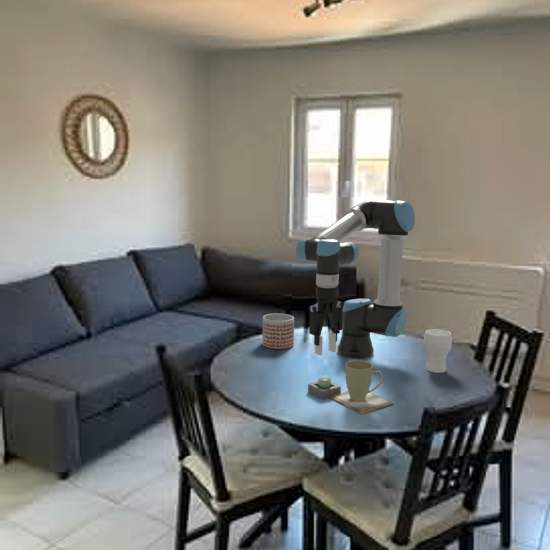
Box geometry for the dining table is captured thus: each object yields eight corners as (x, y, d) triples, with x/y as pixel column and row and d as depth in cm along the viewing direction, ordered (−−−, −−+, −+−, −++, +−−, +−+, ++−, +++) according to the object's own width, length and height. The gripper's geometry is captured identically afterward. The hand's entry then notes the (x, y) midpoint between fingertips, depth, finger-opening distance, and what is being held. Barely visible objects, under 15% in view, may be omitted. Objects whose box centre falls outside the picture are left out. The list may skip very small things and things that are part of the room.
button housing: (307, 392, 198) (308, 383, 197) (325, 387, 202) (326, 379, 202) (322, 399, 191) (322, 391, 191) (340, 394, 196) (340, 386, 195)
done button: (315, 386, 197) (315, 378, 196) (325, 384, 199) (325, 376, 199) (323, 390, 193) (323, 382, 193) (333, 388, 196) (333, 380, 195)
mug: (356, 407, 183) (357, 371, 181) (338, 396, 192) (340, 362, 190) (383, 401, 189) (385, 366, 186) (365, 390, 197) (366, 357, 195)
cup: (451, 375, 215) (454, 337, 213) (422, 373, 217) (424, 335, 215) (448, 366, 226) (451, 329, 223) (421, 364, 228) (423, 327, 225)
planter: (293, 350, 244) (294, 321, 241) (262, 349, 244) (262, 320, 241) (293, 340, 257) (293, 313, 255) (263, 340, 257) (263, 313, 255)
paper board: (329, 397, 193) (329, 395, 193) (359, 389, 201) (360, 387, 200) (361, 414, 180) (361, 412, 180) (393, 404, 188) (393, 402, 188)
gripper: (312, 290, 182) (310, 360, 186) (355, 285, 192) (352, 350, 196) (298, 286, 188) (297, 354, 192) (340, 281, 198) (338, 345, 202)
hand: (325, 352), depth 194 cm, fingers open, 5 cm apart
